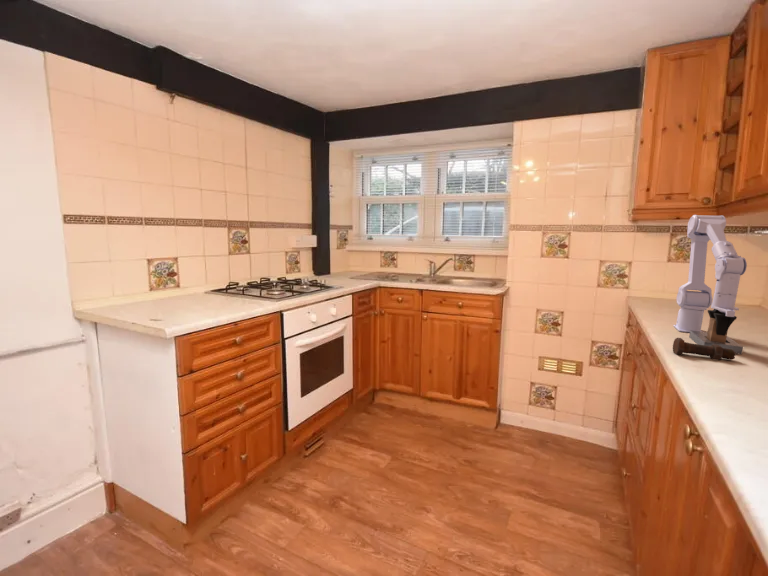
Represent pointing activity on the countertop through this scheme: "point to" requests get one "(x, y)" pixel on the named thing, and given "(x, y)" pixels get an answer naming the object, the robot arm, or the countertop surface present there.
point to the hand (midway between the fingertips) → (718, 333)
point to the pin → (714, 332)
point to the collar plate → (702, 340)
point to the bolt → (702, 350)
